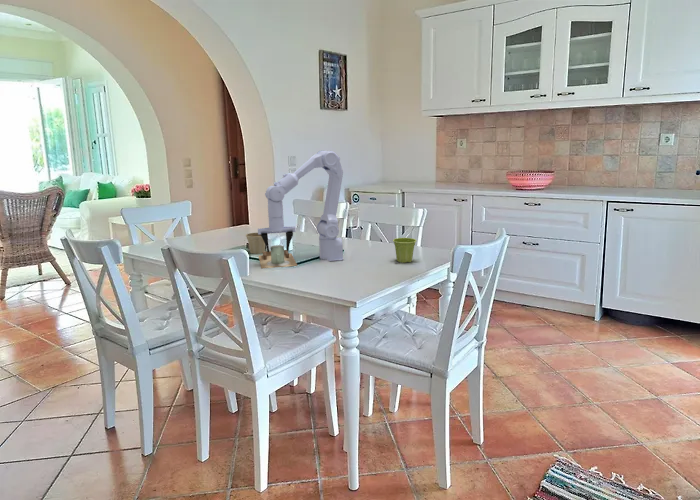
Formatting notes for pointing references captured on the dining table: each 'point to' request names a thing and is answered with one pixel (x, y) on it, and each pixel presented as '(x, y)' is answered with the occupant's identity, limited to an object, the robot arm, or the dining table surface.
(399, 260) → the plant pot
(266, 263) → the board
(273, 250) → the sage green cylinder
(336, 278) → the dining table surface
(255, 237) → the flower pot
